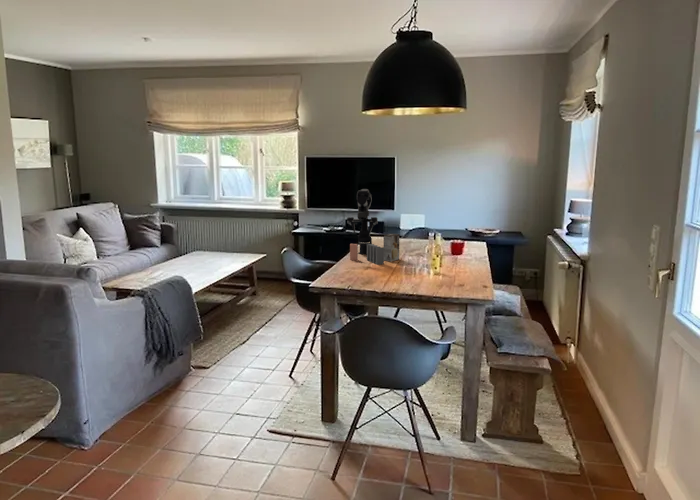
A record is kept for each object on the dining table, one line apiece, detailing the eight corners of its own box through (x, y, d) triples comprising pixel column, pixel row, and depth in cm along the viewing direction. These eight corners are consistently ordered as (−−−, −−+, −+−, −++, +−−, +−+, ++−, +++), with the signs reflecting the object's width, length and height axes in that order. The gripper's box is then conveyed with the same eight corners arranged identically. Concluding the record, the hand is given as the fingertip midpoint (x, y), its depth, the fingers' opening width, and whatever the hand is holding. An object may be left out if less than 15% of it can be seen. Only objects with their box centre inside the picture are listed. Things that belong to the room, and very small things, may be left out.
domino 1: (366, 260, 338) (366, 244, 336) (373, 259, 340) (373, 244, 338) (367, 260, 336) (367, 244, 335) (374, 260, 338) (374, 244, 336)
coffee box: (391, 258, 344) (391, 233, 341) (399, 259, 340) (399, 234, 338) (383, 260, 337) (383, 235, 334) (391, 261, 333) (391, 236, 330)
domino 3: (372, 262, 330) (372, 246, 328) (379, 262, 331) (379, 246, 330) (373, 263, 328) (373, 247, 326) (380, 262, 330) (380, 246, 328)
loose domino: (350, 259, 341) (350, 243, 339) (357, 259, 340) (357, 244, 338) (350, 259, 339) (350, 244, 338) (356, 260, 338) (356, 244, 336)
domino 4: (375, 264, 326) (375, 247, 324) (382, 263, 327) (382, 247, 326) (376, 264, 324) (377, 248, 322) (383, 264, 326) (383, 247, 324)
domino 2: (369, 261, 334) (369, 245, 332) (376, 261, 335) (376, 245, 334) (370, 262, 332) (370, 246, 330) (377, 261, 334) (377, 245, 332)
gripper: (346, 205, 328) (345, 230, 325) (377, 205, 327) (376, 230, 323) (348, 211, 339) (347, 235, 336) (377, 211, 338) (377, 235, 334)
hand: (362, 233), depth 332 cm, fingers open, 9 cm apart
